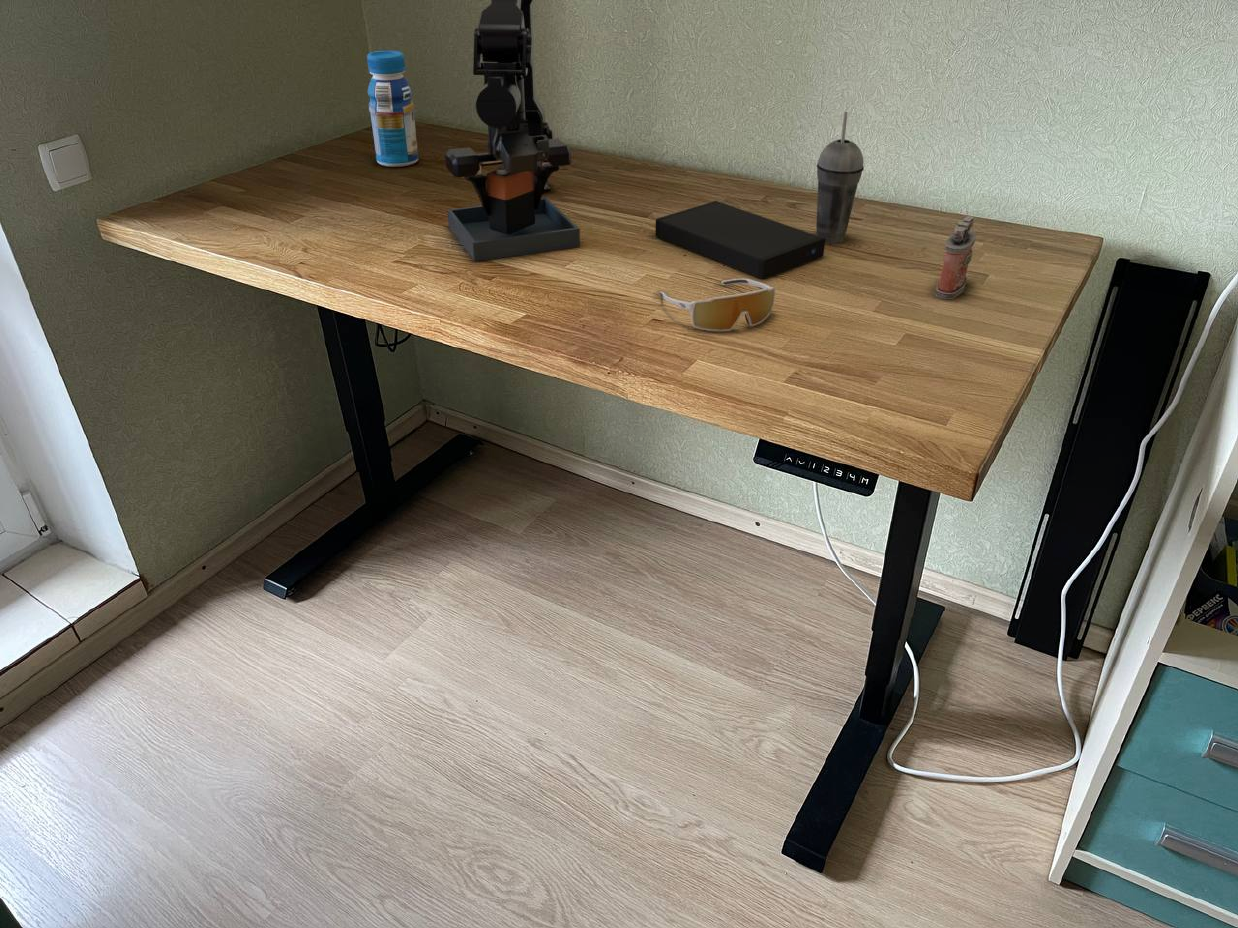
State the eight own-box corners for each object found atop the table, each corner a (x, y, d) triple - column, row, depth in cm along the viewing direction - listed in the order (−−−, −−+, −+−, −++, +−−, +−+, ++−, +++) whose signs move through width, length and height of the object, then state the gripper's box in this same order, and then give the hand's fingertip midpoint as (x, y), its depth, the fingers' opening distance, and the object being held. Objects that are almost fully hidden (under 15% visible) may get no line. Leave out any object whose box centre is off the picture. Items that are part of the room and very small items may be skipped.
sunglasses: (697, 340, 123) (696, 302, 121) (647, 310, 136) (646, 276, 134) (790, 322, 128) (791, 285, 126) (734, 295, 141) (735, 261, 138)
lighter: (954, 300, 135) (969, 232, 129) (930, 295, 136) (944, 227, 131) (969, 282, 140) (985, 215, 135) (947, 277, 142) (960, 211, 136)
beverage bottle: (368, 161, 189) (353, 53, 178) (404, 153, 193) (392, 47, 182) (390, 171, 184) (377, 60, 172) (428, 162, 188) (417, 54, 177)
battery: (536, 224, 155) (534, 162, 149) (508, 236, 150) (505, 172, 145) (516, 218, 157) (513, 157, 151) (488, 230, 152) (484, 167, 147)
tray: (448, 227, 158) (447, 209, 156) (547, 214, 163) (546, 197, 162) (474, 261, 145) (472, 243, 144) (580, 247, 151) (579, 228, 149)
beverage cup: (857, 234, 157) (877, 108, 146) (847, 249, 151) (866, 118, 140) (814, 227, 159) (830, 102, 148) (802, 241, 154) (817, 113, 143)
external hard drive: (716, 217, 163) (717, 200, 161) (823, 256, 148) (826, 238, 147) (655, 237, 155) (655, 219, 153) (762, 280, 140) (764, 260, 139)
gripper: (458, 129, 134) (467, 236, 143) (582, 117, 140) (584, 220, 149) (440, 111, 143) (449, 212, 152) (557, 100, 149) (560, 199, 158)
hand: (511, 211), depth 152 cm, fingers closed on battery, 7 cm apart
